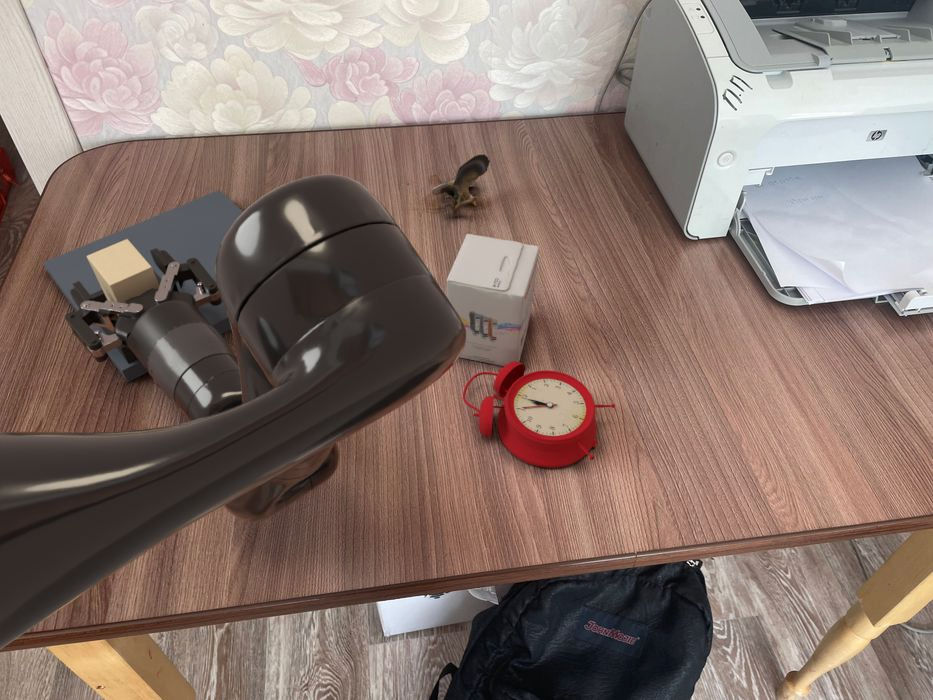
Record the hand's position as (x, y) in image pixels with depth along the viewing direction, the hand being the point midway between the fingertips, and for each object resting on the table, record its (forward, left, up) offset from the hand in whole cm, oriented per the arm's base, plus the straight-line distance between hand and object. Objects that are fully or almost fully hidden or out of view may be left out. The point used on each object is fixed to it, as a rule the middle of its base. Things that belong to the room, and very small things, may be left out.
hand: (117, 271), depth 77 cm
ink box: (+30, -28, -9) cm, 42 cm away
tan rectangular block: (0, -2, -6) cm, 7 cm away
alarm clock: (+25, -40, -9) cm, 48 cm away
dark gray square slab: (+7, +4, -8) cm, 12 cm away
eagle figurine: (+45, -6, -9) cm, 46 cm away
